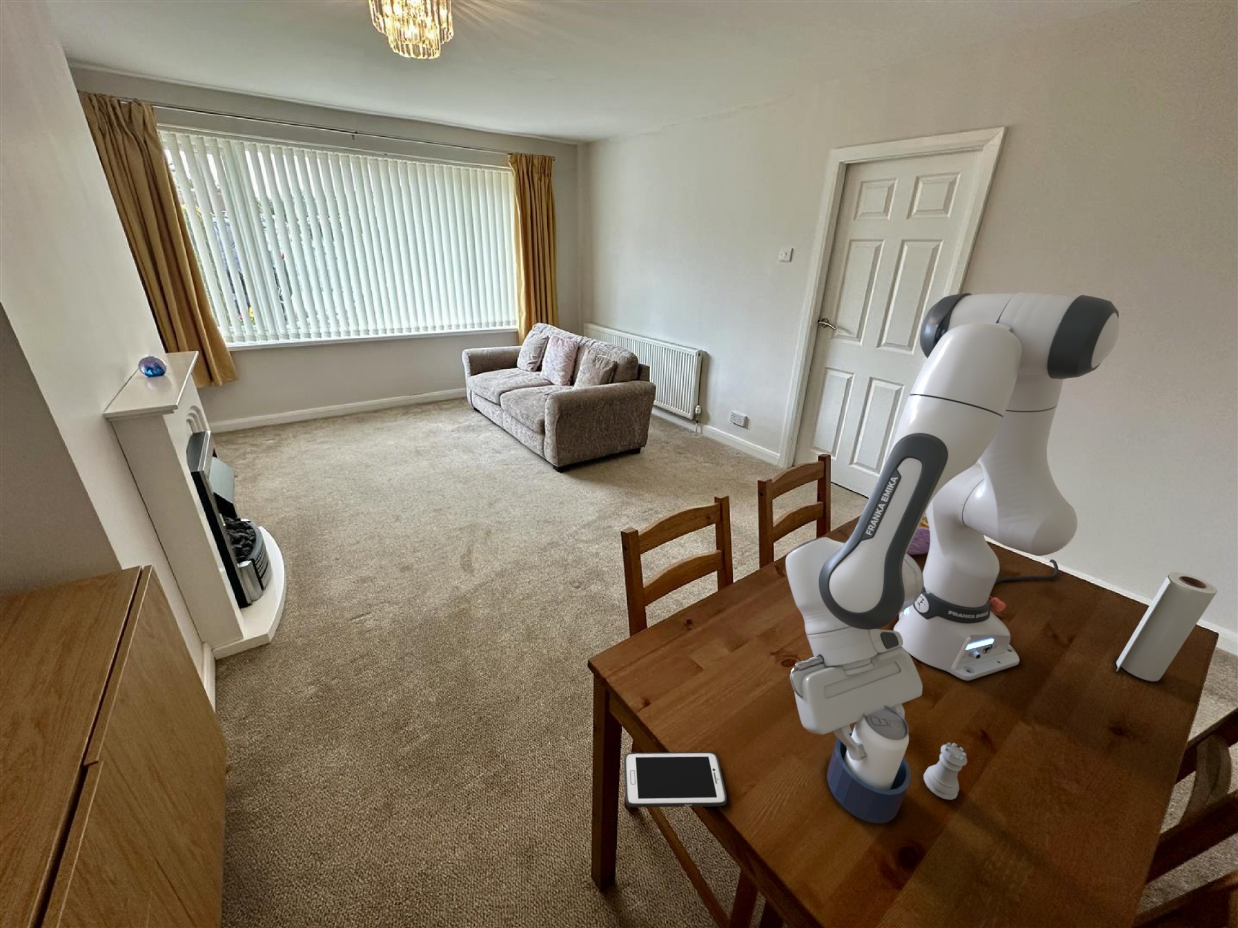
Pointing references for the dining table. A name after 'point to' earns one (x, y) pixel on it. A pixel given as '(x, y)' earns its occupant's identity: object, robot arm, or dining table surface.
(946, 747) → the rook chess piece
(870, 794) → the cup
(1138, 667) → the paper towel roll
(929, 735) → the dining table surface
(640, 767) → the cell phone
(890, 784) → the can
